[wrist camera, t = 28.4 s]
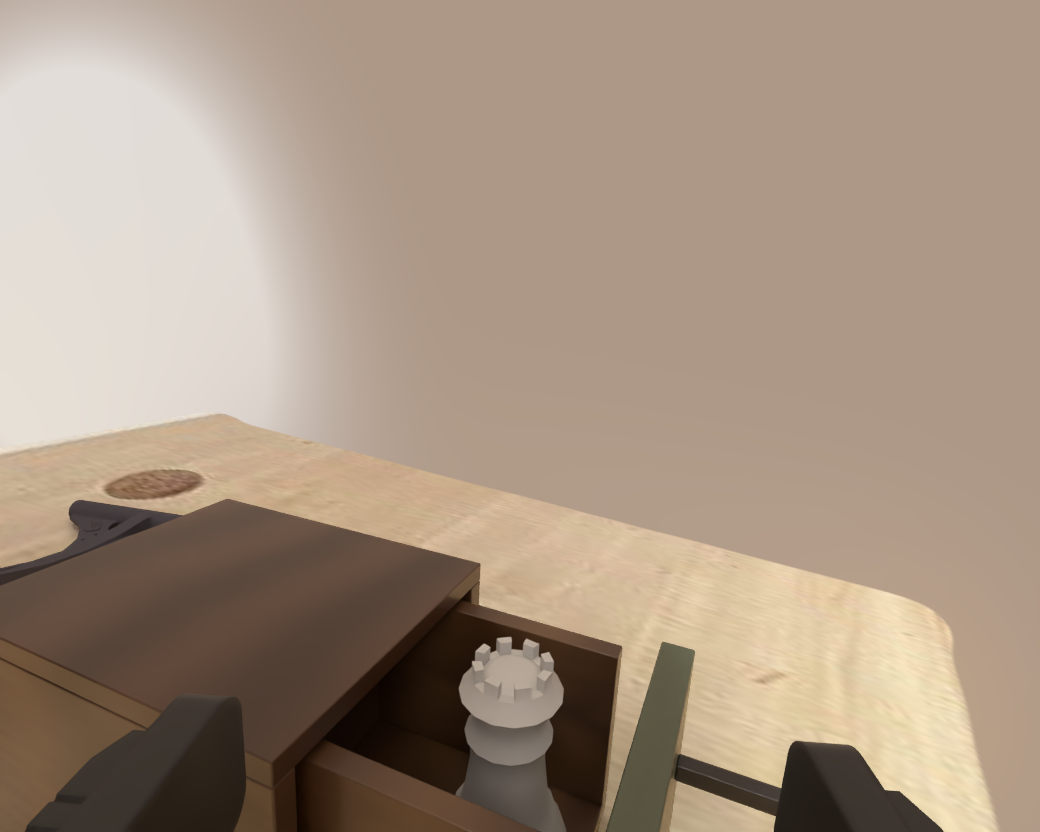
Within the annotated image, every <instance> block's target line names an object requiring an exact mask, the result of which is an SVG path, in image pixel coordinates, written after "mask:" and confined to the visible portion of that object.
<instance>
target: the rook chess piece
mask: <svg viewBox="0 0 1040 832" xmlns="http://www.w3.org/2000/svg"><path fill="white" fill-rule="evenodd" d="M511 646H512V639H511V637H504V638H497V642H496V651H494V652H492V653H490V649H491V647H489V646H488V645H486V644H483V645H482V646H481V647H480V648H478V649H477V650H476V651H475V661H472V667H471V668H470V669H469V670H468V671H467V672H466V673H465V674H464V675H463V677H462V680H461V683H460V686H459V692H460V697H461V701H462V704H463V705H464V706H465V707H466V708H467V709H468V710H469V711H470V713H471V715H470V716H469V717H468V719H467V723H466V726H465V729H464V730H465V735H466V739H467V743H468V744H469V746H470V758H469V763H468V768H467V773H466V778H465V782H464V783H463V784H462V785H461V787H460V788H459V789H458V790H457V792H456V796H458V797H461V798H463V799H465V800H468V801H470V802H472V803H475V804H477V805H479V806H482V807H484V808H486V809H489V810H491V811H494V812H496V813H498V814H501V815H503V816H505V817H508V818H510V819H512V820H515V821H517V822H519V823H522V824H524V825H527V826H529V827H531V828H534V829H536V830H538V831H541V832H566V828H565V824H564V821H563V819H562V816H561V813H560V810H559V808H558V805H557V803H556V802H555V801H554V799H553V796H552V793H551V791H550V789H549V788H548V787H547V775H546V763H545V752H546V751H547V749H548V748H549V746H550V745H551V744H552V738H553V727H552V725H551V722H550V720H549V719H550V718H551V717H552V716H553V715H554V714H555V713H556V711H557V710H558V709H559V707H560V706H561V705H562V703H563V692H564V688H563V686H562V684H561V682H560V680H559V678H558V676H557V674H556V673H555V672H554V671H553V667H554V661H553V659H552V657H551V655H550V653H549V652H547V653H543V654H541V658H540V657H539V644H538V643H536V642H533V641H531V640H528V639H526V640H525V642H524V643H523V651H522V650H515V649H511Z"/></svg>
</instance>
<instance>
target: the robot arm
mask: <svg viewBox="0 0 1040 832" xmlns="http://www.w3.org/2000/svg"><path fill="white" fill-rule="evenodd" d="M245 793H246V768H245V753H244V737H243V722H242V709H241V704H240V701H239V699H238V698H237V697H232V696H219V695H206V694H193V693H183V694H181V695H179V696H178V697H176V698H175V699H174V700H173V701H172V702H171V703H170V704H169V705H168V707H167V708H166V709H165V710H164V711H163V712H162V713H161V714H160V716H159V717H158V718H157V719H156V720H155V721H154V722H153V723H152V725H151V726H150V727H149V728H148V729H147V730H146V731H142V730H132V731H131V732H129V733H128V734H126V735H125V736H123V737H122V738H120V739H119V740H117V741H116V742H114V743H113V744H111V745H110V746H108V747H107V748H105V749H104V750H102V751H101V752H99V753H98V754H96V755H95V756H93V757H92V758H90V759H89V760H88V762H87V763H86V764H85V765H84V766H83V767H82V768H81V769H80V770H79V771H78V772H77V773H76V774H75V775H74V776H73V777H72V778H71V779H70V780H69V782H68V783H67V784H66V785H65V786H64V787H63V788H62V789H61V790H60V791H59V792H58V793H57V794H56V798H55V800H54V801H53V802H49V803H48V804H47V805H46V806H45V807H44V808H43V809H42V810H41V811H40V812H39V813H38V814H37V815H36V816H35V817H34V818H33V819H32V820H31V822H30V823H29V824H28V825H27V827H26V830H25V832H234V830H235V827H236V825H237V823H238V820H239V817H240V814H241V811H242V807H243V803H244V799H245ZM774 832H943V830H942V829H941V828H940V827H939V826H938V825H937V824H936V823H935V822H934V821H932V820H931V819H930V818H929V817H928V816H927V815H926V814H924V813H923V812H922V811H921V810H920V809H919V808H918V807H917V806H915V805H914V804H913V803H912V802H911V801H910V800H909V799H908V798H906V797H905V796H904V795H903V794H902V793H901V792H900V791H888V790H884V788H883V787H882V785H881V784H880V782H879V781H878V779H877V778H876V776H875V775H874V773H873V772H872V770H871V769H870V767H869V766H868V764H867V763H866V761H865V760H864V758H863V757H862V756H861V754H860V753H859V752H858V751H857V750H856V749H855V748H854V747H852V746H850V745H842V744H829V743H816V742H802V741H795V742H794V743H792V745H791V746H790V749H789V752H788V756H787V762H786V767H785V772H784V777H783V783H782V788H781V793H780V798H779V804H778V809H777V814H776V819H775V825H774Z"/></svg>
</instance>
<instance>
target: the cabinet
mask: <svg viewBox="0 0 1040 832" xmlns="http://www.w3.org/2000/svg"><path fill="white" fill-rule="evenodd" d="M479 580H480V563H476V562H472V561H468V560H464V559H460V558H457V557H453V556H449V555H445V554H441V553H437V552H433V551H429V550H425V549H421V548H418V547H414V546H410V545H406V544H402V543H398V542H394V541H390V540H386V539H382V538H379V537H375V536H371V535H367V534H363V533H359V532H355V531H351V530H347V529H343V528H340V527H336V526H332V525H328V524H324V523H320V522H316V521H312V520H308V519H304V518H301V517H297V516H293V515H289V514H285V513H281V512H277V511H273V510H269V509H265V508H262V507H258V506H254V505H250V504H246V503H242V502H238V501H234V500H230V499H225V500H223V501H220V502H218V503H215V504H212V505H210V506H207V507H205V508H202V509H199V510H197V511H194V512H192V513H189V514H186V515H184V516H181V517H178V518H176V519H173V520H171V521H168V522H165V523H163V524H160V525H158V526H155V527H152V528H150V529H147V530H145V531H142V532H139V533H137V534H134V535H132V536H129V537H126V538H124V539H121V540H119V541H116V542H113V543H111V544H108V545H105V546H103V547H100V548H98V549H95V550H92V551H90V552H87V553H85V554H82V555H79V556H77V557H74V558H72V559H69V560H66V561H64V562H61V563H59V564H56V565H53V566H51V567H48V568H46V569H43V570H40V571H38V572H35V573H33V574H30V575H27V576H25V577H22V578H19V579H17V580H14V581H12V582H9V583H6V584H4V585H1V586H0V832H25V830H26V827H27V825H28V824H29V823H30V822H31V820H32V819H33V818H34V817H35V816H36V815H37V814H38V813H39V812H40V811H41V810H42V809H43V808H44V807H45V806H46V805H47V804H48V803H49V802H53V801H54V800H55V798H56V794H57V793H58V792H59V791H60V790H61V789H62V788H63V787H64V786H65V785H66V784H67V783H68V782H69V780H70V779H71V778H72V777H73V776H74V775H75V774H76V773H77V772H78V771H79V770H80V769H81V768H82V767H83V766H84V765H85V764H86V763H87V762H88V760H89V759H90V758H92V757H93V756H95V755H96V754H98V753H99V752H101V751H102V750H104V749H105V748H107V747H108V746H110V745H111V744H113V743H114V742H116V741H117V740H119V739H120V738H122V737H123V736H125V735H126V734H128V733H129V732H131V731H132V730H142V731H146V730H147V729H148V728H149V727H150V726H151V725H152V723H153V722H154V721H155V720H156V719H157V718H158V717H159V716H160V714H161V713H162V712H163V711H164V710H165V709H166V708H167V707H168V705H169V704H170V703H171V702H172V701H173V700H174V699H175V698H176V697H178V696H179V695H181V694H183V693H193V694H206V695H219V696H232V697H237V698H238V699H239V701H240V704H241V709H242V722H243V737H244V753H245V768H246V793H245V799H244V803H243V807H242V811H241V814H240V817H239V820H238V823H237V825H236V827H235V830H234V832H298V830H297V806H296V782H295V768H294V766H295V765H296V764H297V763H298V762H299V761H300V760H301V759H302V758H303V757H304V756H305V755H306V754H307V753H308V752H309V751H310V750H311V749H312V748H313V747H314V746H315V745H316V744H317V743H318V742H319V741H320V740H321V739H322V738H323V737H324V736H325V735H326V734H327V733H328V732H329V731H330V730H331V729H332V728H333V727H334V726H335V725H336V724H337V723H338V722H339V721H340V720H341V719H342V718H343V717H344V716H345V715H346V714H347V713H348V712H349V711H350V710H351V709H352V708H353V707H354V706H355V705H356V704H357V703H358V702H359V701H360V700H361V699H362V698H363V697H364V696H365V695H366V694H367V693H368V692H369V691H370V690H371V689H372V688H373V687H374V686H375V685H376V684H377V683H378V682H379V681H380V680H381V679H382V678H383V677H384V676H385V675H386V674H387V673H388V672H389V671H390V670H391V669H392V668H393V667H394V666H395V665H396V664H397V663H398V662H399V661H400V660H401V659H402V658H403V657H404V656H405V655H406V654H407V653H408V652H409V651H410V650H411V649H412V648H413V647H414V646H415V645H416V644H417V643H418V642H419V641H420V640H421V639H422V638H423V637H424V636H425V635H426V633H427V632H428V631H429V630H430V629H431V628H432V627H433V626H434V625H435V624H436V623H437V622H438V621H439V620H440V619H441V618H442V617H443V616H444V615H445V614H446V613H447V612H448V611H449V610H450V609H451V608H452V607H453V606H454V605H455V604H456V603H457V602H458V601H459V600H462V601H465V602H469V603H472V604H476V605H479V585H480V581H479Z"/></svg>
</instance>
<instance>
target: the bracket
mask: <svg viewBox="0 0 1040 832" xmlns="http://www.w3.org/2000/svg"><path fill="white" fill-rule="evenodd" d="M69 516H70V520H71V521H73V522H74V523H75V524H76V525H77V526H78V527H79V529H80V532H79V535H78V538H77V539H76V540H75V541H74V542H73V543H72V544H71V545H70V546H68V547H67V548H66V549H65V550H63V551H61V552H58V553H55V554H52V555H49V556H46V557H43V558H40V559H37V560H34V561H31V562H27V563H22V564H17V565H13V566H8V567H4V568H0V586H1V585H4V584H6V583H9V582H12V581H14V580H17V579H19V578H22V577H25V576H27V575H30V574H33V573H35V572H38V571H40V570H43V569H46V568H48V567H51V566H53V565H56V564H59V563H61V562H64V561H66V560H69V559H72V558H74V557H77V556H79V555H82V554H85V553H87V552H90V551H92V550H95V549H98V548H100V547H103V546H105V545H108V544H111V543H113V542H116V541H119V540H121V539H124V538H126V537H129V536H132V535H134V534H137V533H139V532H142V531H145V530H147V529H150V528H152V527H155V526H158V525H160V524H163V523H165V522H168V521H171V520H173V519H176V518H178V517H181V516H184V515H177V514H170V513H164V512H157V511H150V510H144V509H137V508H130V507H124V506H117V505H110V504H104V503H97V502H91V501H84V500H78V501H75V502H74V503H73V504H72V505H71V507H70V509H69ZM114 526H116V527H114ZM113 527H114V528H113ZM111 528H113V529H111ZM110 529H111V530H110Z"/></svg>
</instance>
